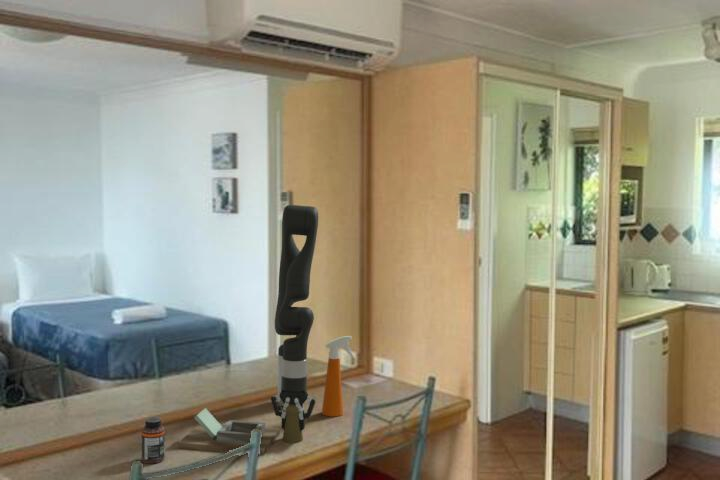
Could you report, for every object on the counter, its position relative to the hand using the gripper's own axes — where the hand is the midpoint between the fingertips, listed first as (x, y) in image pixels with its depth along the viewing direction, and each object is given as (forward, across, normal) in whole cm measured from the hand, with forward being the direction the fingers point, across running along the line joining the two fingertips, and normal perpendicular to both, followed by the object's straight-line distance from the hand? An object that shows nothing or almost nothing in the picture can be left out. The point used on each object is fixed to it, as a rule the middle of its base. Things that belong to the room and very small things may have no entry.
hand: (292, 430), depth 210 cm
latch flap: (-2, +24, +6) cm, 25 cm away
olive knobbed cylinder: (+3, 0, 0) cm, 3 cm away
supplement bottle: (+3, +33, +24) cm, 41 cm away
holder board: (+3, +17, +5) cm, 18 cm away
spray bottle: (+3, -9, -27) cm, 29 cm away
